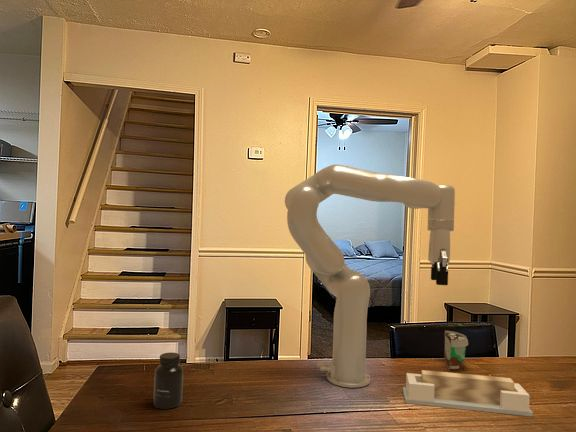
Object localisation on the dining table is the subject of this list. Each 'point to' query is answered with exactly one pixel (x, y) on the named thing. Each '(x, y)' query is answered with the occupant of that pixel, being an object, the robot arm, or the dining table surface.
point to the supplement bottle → (168, 381)
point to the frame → (425, 396)
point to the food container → (455, 350)
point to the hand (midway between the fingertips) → (438, 282)
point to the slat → (467, 386)
